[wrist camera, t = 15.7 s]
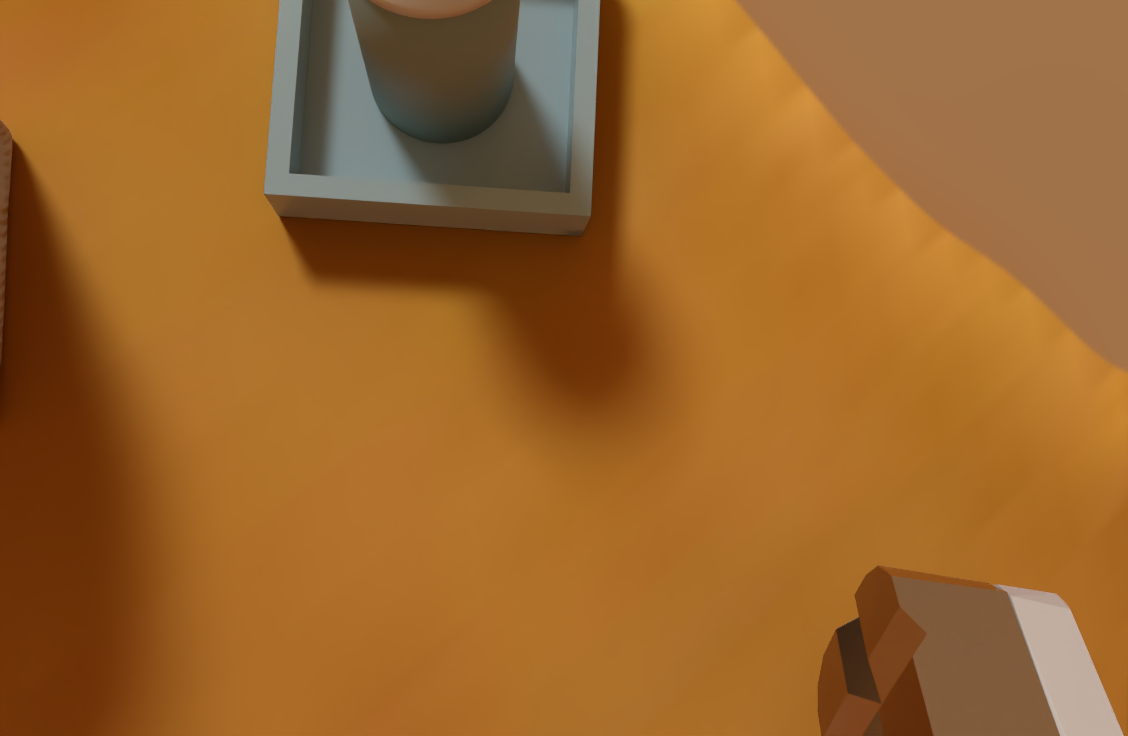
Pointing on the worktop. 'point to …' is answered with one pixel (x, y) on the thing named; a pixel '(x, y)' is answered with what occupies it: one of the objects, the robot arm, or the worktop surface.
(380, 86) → the tea tin
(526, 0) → the dish
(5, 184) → the decorative jar
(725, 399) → the worktop surface
